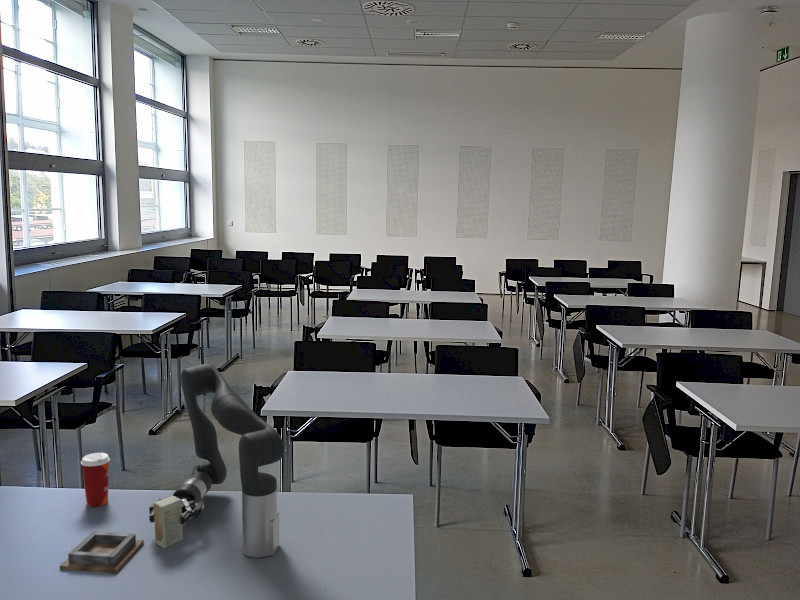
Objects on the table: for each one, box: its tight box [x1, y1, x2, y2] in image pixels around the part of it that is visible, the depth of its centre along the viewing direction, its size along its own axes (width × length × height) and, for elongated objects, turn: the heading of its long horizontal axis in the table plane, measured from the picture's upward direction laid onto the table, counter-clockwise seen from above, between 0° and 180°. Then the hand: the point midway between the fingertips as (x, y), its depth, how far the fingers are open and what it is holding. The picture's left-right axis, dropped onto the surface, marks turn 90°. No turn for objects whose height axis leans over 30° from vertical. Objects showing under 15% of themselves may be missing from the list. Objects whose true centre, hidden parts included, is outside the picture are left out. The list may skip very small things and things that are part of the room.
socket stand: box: [59, 530, 145, 574], centre depth 176 cm, size 15×15×4 cm
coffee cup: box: [80, 452, 111, 508], centre depth 206 cm, size 8×8×15 cm
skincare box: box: [153, 494, 184, 549], centre depth 184 cm, size 6×4×12 cm
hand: (166, 520), depth 182 cm, fingers open, 8 cm apart
